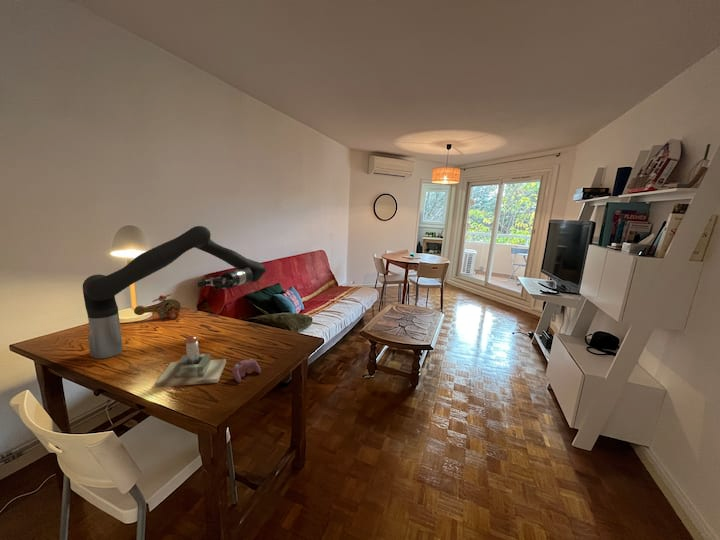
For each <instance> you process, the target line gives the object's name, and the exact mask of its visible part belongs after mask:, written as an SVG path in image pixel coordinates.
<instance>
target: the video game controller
mask: <svg viewBox="0 0 720 540" xmlns="http://www.w3.org/2000/svg"><path fill="white" fill-rule="evenodd" d="M244 369H245V370H244ZM254 370H255V372H256V373H257V374H261V373H262V369H261V367H260V366H259V364H258V362H257V360H255V359H254V358H246V359H243V360H240V361H239V362H237V363H236V364H235V365H233V366H232V368H231V373H232V375H233V378H234V379H235V380H236V382H237V383H239V384H240V383H241V382H242V378H243V377H245V376H246V374H249V375H250V374H252V373H253V371H254Z"/></svg>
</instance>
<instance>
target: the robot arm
mask: <svg viewBox="0 0 720 540" xmlns="http://www.w3.org/2000/svg"><path fill="white" fill-rule="evenodd" d="M211 235H212V234H211V231H210V230H209V228H207V227H205V226H203V225H198V226H197V225H196V226H193V227H191V228H190V229H188V230H186V231H185V232H184V233H182V234H180V235H179V236H177V237H175V238H173V239H171V240H169V241H166V242H163V243H161V244H160V245H158V246H155V247H152V248H151V249H149V250H146V251H145V252H142V253H140V254H139V255H137V256H136V257H135V258H134V259H132V260H131V261H130V262H128V263H127V264H126V265H125V266H124V267H122V268H120V269H118V270H116V271H114V272H112V273H110V274H107V275H105V274H93V275H91V276H90V275H89V276H88V277H87V278H86V279H85V280H84V281H83V284H82V294H83V299H84V306H85V310H86V313H87V319H88V325H89V326H88V327H89V334H88V335H87V340H88V341H87V342H88V347H89V354H90V358H94V359H108V358H111V357H115V356H117V355H119V354H121V353H122V352H123V350H124V348H123V347H124V346H123V339H122V331H121V322H120V316H119V307H118V304H117V300H116V295H118V294H120V293H121V292H123V290H125V289H127V288H128V287H130V286H131V285H133V284H134V283H137V282H139V281H141V280H142V279H144V278H147V277H148V276H151V275H152V274H154V273H156V272H158V271H161V270H162V269H164V268H166V267H168V266H169V265H170V264H172V263H174V262H175V261H176V260H177V259H179V258H180V257H181V256H182V255H183V254H185V253H186V252H188V251H190V250H192V249H194V248H196V249H197V250H200V251H203V252H205V253H208V254H210V255H211V256H214V257H215V258H218V259H220V260H221V261H223V262H225V263H227V264H229V265H230V266H232V267H234V268H235V269H234V270H229V271H227V272H226V271H225V272H224V273H222V274H221V275H220V276H217V277H215V276H210V277H206V278H202V279H201V281H198V282H197V287H198V288H203V287H207V286H211V287H213V291H218V290H224V289H227V290H230V289H232V288H235V287H238V286H240V285H243V284H245V283H256V282H258V281H259V280H260V279H261V278H262V277H263V276H264V274H265V273H266V272H267V269H266V266H265V265H264V264H263V263H260V262H259V261H256V260H253V259H249V258H247V257H246V256H243V255H242V254H240V253H239V252H237V251H235V250H232V249H229V248H228V247H224V246H222V245H220V244H218V243H216V242H215V241H214V240H212V239H211Z"/></svg>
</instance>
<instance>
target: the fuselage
mask: <svg viewBox="0 0 720 540" xmlns="http://www.w3.org/2000/svg"><path fill="white" fill-rule="evenodd" d="M199 347H200V346H199V339H198V337H197V336H196V335H188V336H187V338H186V339H185V349H186V350H185V351H186V354H185V355H187V365H193V364H199V354H200V349H199Z"/></svg>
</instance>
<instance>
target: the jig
mask: <svg viewBox="0 0 720 540" xmlns="http://www.w3.org/2000/svg"><path fill="white" fill-rule="evenodd" d="M226 363H227V359H226V358H223V359H211V353H199V364H193V365H187V355H186V354H182V356H181V357H180V359H179V361H171V362H170V363H169V365H168V366H167V367H166V369H164V371H163V373H162V374H161V375H160V376H159V378H158V379H157V380H156V381H155V384H154V385H155V388H159V387H161V388H163V387H174V386H176V387H177V386H188V385H189V386H191V385H201V384H216V383H218V382H219V381H220V379H221V375H222V374H223V371H224V368H225V366H226Z"/></svg>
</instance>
